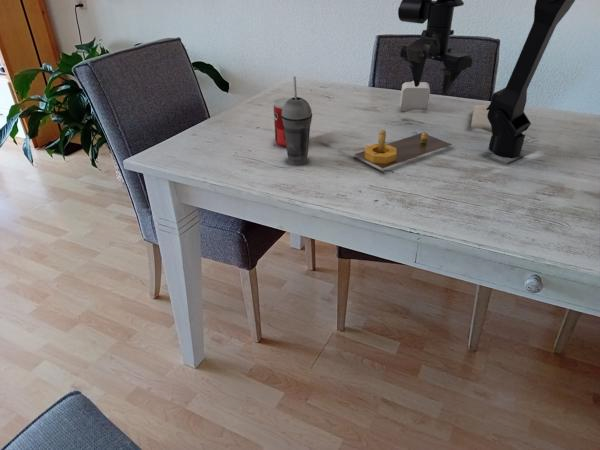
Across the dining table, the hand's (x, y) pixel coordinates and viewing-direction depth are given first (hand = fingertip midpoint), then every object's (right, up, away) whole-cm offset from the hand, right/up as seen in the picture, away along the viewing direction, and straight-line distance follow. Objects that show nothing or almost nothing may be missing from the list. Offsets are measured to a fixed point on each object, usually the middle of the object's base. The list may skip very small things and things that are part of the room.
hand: (429, 90), depth 118 cm
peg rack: (-8, -17, -4) cm, 19 cm away
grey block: (+2, +2, +26) cm, 26 cm away
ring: (-14, -19, -9) cm, 25 cm away
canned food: (-37, -13, +3) cm, 39 cm away
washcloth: (+22, -6, +13) cm, 26 cm away
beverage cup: (-34, -20, -7) cm, 40 cm away
